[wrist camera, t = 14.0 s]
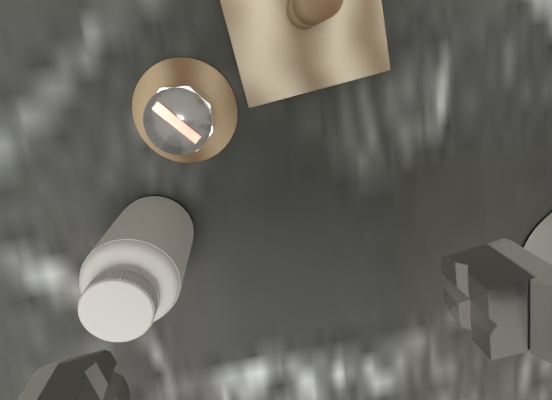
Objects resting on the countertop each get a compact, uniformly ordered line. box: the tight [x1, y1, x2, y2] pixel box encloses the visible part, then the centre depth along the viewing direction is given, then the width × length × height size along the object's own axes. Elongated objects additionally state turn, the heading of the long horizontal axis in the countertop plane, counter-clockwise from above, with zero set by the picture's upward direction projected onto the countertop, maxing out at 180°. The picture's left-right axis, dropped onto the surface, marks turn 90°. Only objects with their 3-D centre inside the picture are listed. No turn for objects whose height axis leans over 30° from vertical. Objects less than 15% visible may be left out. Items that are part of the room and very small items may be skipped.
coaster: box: [132, 57, 238, 163], centre depth 37 cm, size 10×10×1 cm
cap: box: [143, 84, 215, 155], centre depth 34 cm, size 6×6×6 cm
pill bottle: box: [78, 196, 194, 342], centre depth 34 cm, size 8×8×15 cm
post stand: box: [220, 0, 390, 108], centre depth 31 cm, size 14×14×9 cm
